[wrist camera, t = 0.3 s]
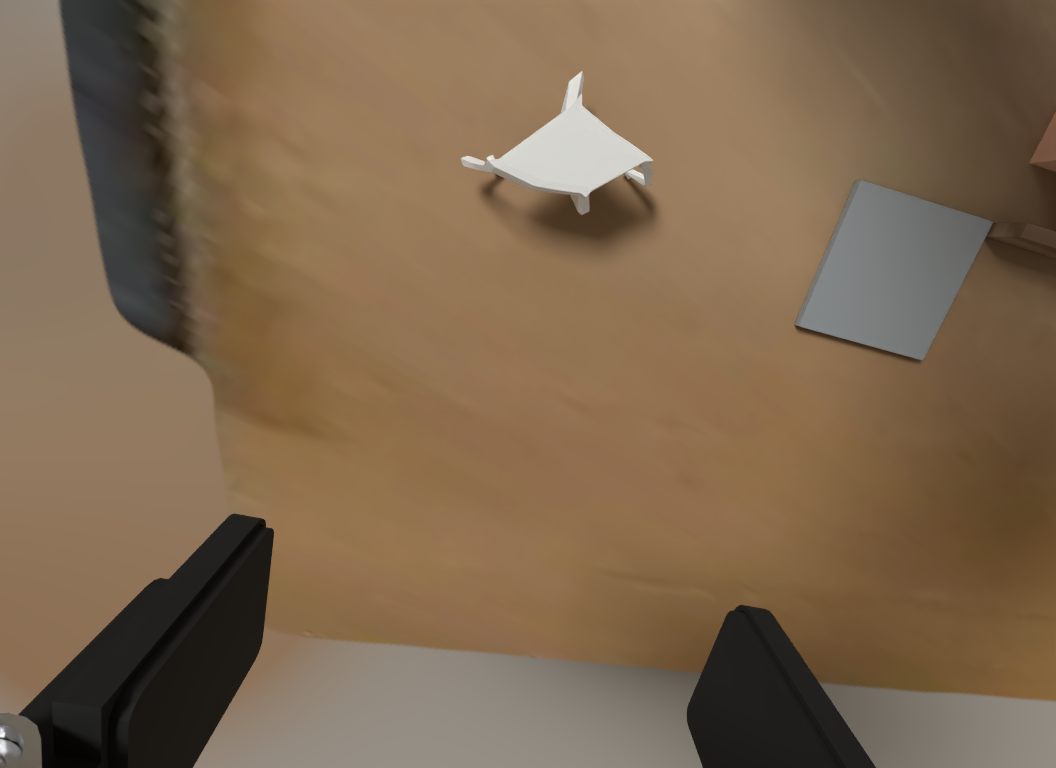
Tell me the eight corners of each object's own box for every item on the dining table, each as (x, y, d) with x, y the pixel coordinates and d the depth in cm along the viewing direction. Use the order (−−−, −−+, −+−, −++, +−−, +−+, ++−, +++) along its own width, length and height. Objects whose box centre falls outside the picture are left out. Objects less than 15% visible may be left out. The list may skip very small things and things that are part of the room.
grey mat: (855, 180, 37) (861, 179, 37) (986, 221, 38) (993, 221, 38) (794, 324, 40) (798, 326, 40) (917, 358, 42) (922, 360, 41)
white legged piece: (618, 67, 35) (635, 42, 30) (646, 192, 37) (666, 188, 32) (451, 123, 35) (442, 108, 31) (489, 243, 38) (486, 246, 33)
